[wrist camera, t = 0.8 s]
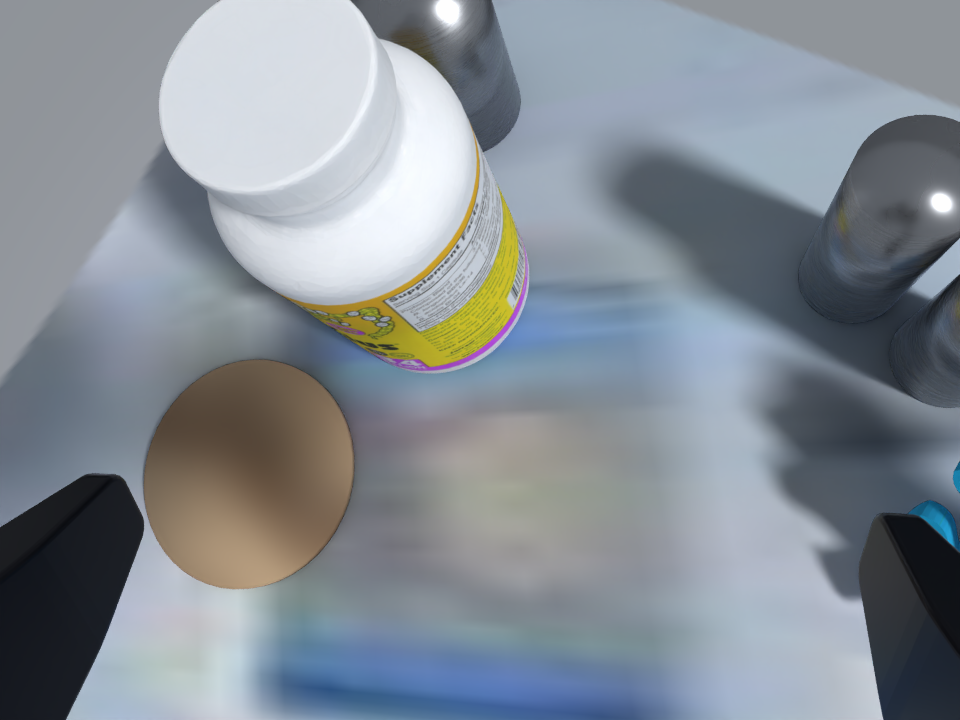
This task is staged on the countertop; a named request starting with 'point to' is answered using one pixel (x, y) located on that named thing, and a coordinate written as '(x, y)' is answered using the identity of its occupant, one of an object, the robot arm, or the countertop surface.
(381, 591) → the countertop surface
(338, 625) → the countertop surface
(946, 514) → the gear
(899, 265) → the spacers
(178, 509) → the cork coaster
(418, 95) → the supplement bottle
